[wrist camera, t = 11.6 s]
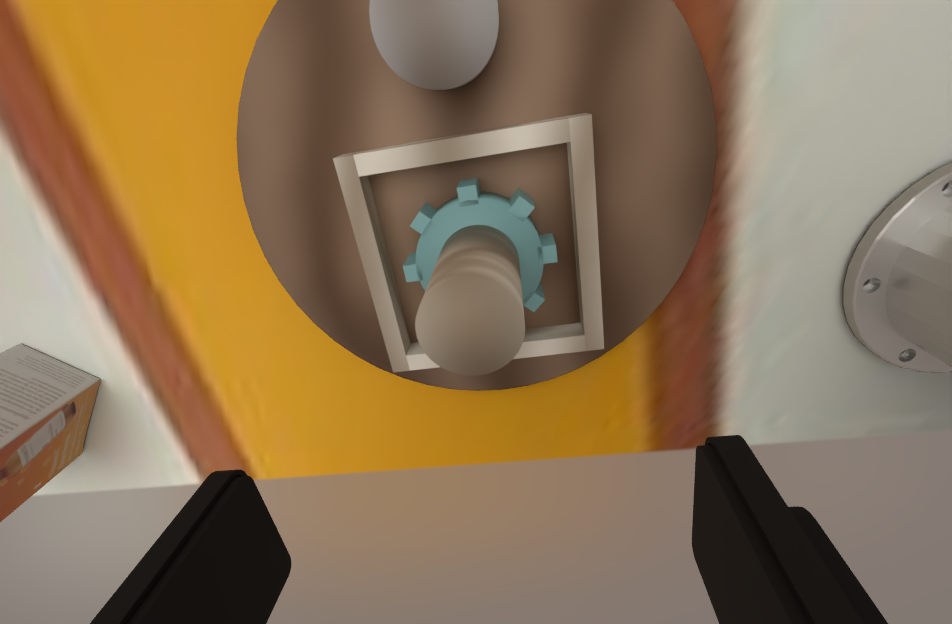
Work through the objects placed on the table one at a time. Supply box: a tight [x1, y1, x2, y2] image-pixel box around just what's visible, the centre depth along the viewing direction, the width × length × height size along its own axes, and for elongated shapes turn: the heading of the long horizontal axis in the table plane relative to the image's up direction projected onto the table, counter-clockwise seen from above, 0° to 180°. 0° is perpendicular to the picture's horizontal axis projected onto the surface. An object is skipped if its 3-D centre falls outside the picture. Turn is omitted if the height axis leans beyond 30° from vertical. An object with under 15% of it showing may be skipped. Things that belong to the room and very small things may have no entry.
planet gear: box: [403, 178, 557, 376], centre depth 21 cm, size 8×8×9 cm
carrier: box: [237, 0, 717, 391], centre depth 23 cm, size 24×24×4 cm
